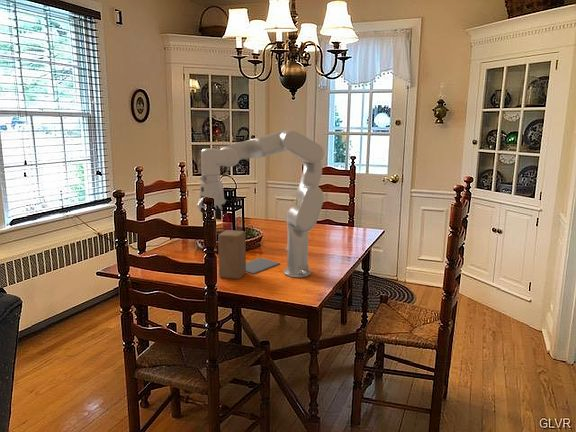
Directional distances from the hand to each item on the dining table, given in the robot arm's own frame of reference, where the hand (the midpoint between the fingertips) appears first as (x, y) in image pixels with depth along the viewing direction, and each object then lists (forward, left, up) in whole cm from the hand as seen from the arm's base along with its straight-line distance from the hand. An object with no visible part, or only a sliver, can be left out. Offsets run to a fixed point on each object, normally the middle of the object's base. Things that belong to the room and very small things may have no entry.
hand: (212, 220), depth 192 cm
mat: (+10, -26, -28) cm, 39 cm away
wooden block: (+4, -11, -28) cm, 30 cm away
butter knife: (+26, -53, -28) cm, 65 cm away
